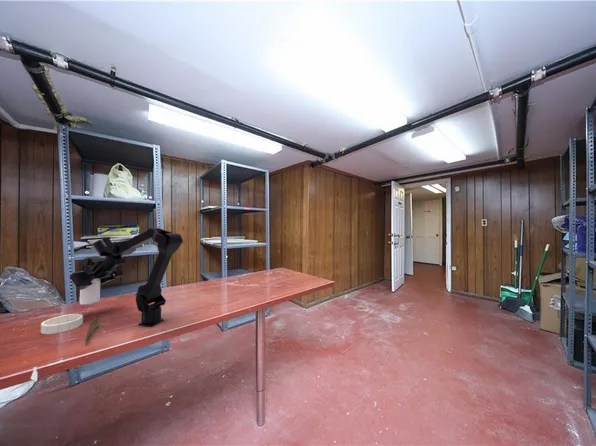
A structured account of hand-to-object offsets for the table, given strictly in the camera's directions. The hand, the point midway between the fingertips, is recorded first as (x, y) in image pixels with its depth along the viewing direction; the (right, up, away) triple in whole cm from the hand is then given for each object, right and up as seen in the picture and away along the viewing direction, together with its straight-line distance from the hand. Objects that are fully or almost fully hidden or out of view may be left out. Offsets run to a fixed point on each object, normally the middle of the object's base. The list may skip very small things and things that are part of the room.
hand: (87, 287), depth 96 cm
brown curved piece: (+20, -13, -18) cm, 29 cm away
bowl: (+2, -12, -12) cm, 17 cm away
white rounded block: (+1, -7, 0) cm, 7 cm away
